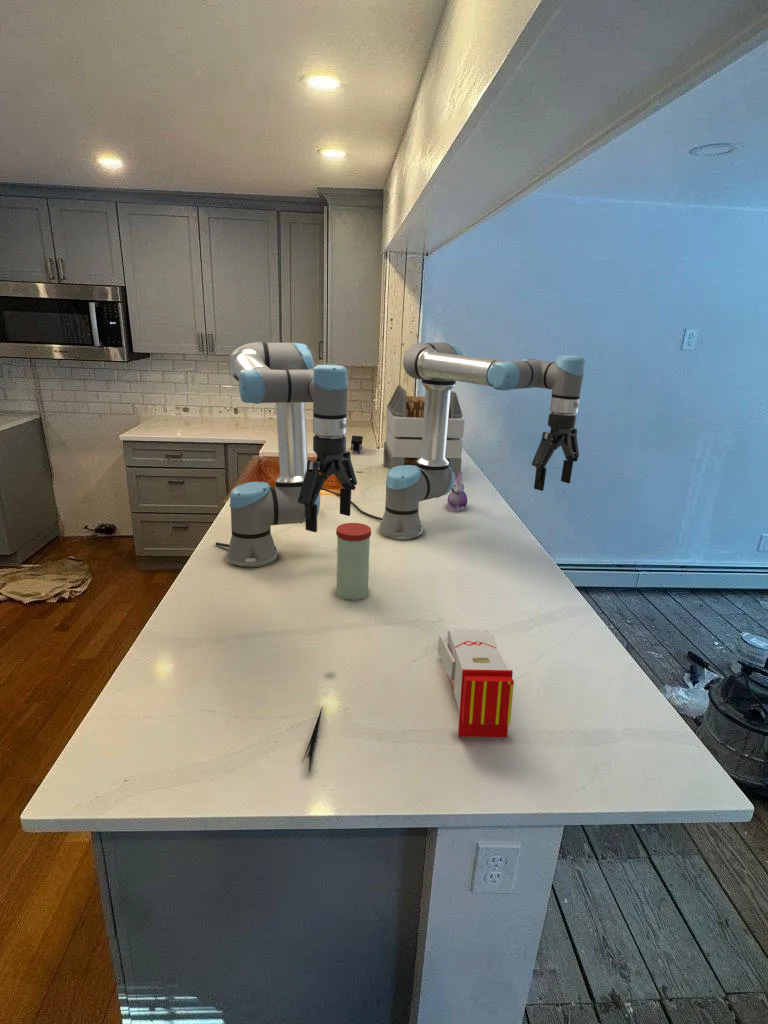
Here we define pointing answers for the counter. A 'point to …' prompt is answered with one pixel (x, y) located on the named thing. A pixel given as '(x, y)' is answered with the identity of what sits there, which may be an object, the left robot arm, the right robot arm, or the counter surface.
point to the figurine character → (356, 443)
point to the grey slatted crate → (418, 431)
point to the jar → (352, 568)
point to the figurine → (457, 495)
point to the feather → (313, 740)
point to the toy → (478, 682)
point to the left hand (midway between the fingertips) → (328, 522)
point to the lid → (353, 531)
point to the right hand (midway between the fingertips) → (552, 485)
